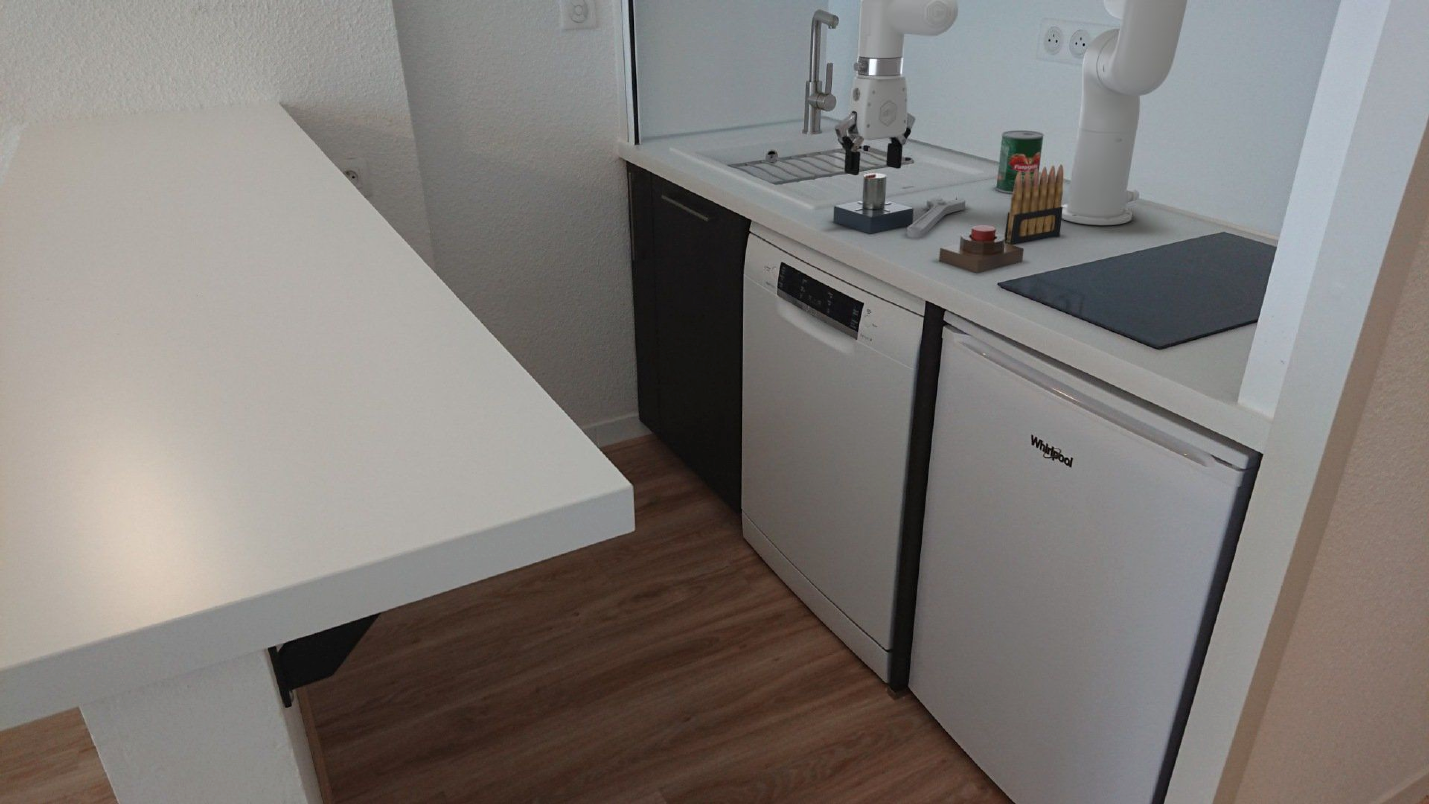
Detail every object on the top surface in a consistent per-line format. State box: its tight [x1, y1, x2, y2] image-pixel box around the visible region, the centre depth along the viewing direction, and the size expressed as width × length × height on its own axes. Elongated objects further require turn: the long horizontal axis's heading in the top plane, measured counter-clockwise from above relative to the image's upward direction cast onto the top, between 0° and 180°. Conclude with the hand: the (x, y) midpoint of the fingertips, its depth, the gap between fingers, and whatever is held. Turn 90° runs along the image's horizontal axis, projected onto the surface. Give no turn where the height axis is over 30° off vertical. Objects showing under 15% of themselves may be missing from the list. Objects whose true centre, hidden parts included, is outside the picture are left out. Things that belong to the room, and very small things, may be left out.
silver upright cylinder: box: [861, 172, 888, 209], centre depth 169 cm, size 4×4×6 cm
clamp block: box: [833, 199, 915, 235], centre depth 170 cm, size 10×10×3 cm
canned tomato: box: [995, 129, 1045, 195], centre depth 190 cm, size 8×8×11 cm
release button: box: [970, 224, 997, 241], centre depth 147 cm, size 4×4×2 cm
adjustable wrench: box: [906, 196, 966, 239], centre depth 172 cm, size 25×6×2 cm, turn 148°
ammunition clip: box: [1003, 164, 1064, 246], centre depth 157 cm, size 11×2×12 cm, turn 116°
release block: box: [938, 231, 1025, 274], centre depth 148 cm, size 10×8×4 cm
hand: (872, 170), depth 167 cm, fingers open, 9 cm apart
